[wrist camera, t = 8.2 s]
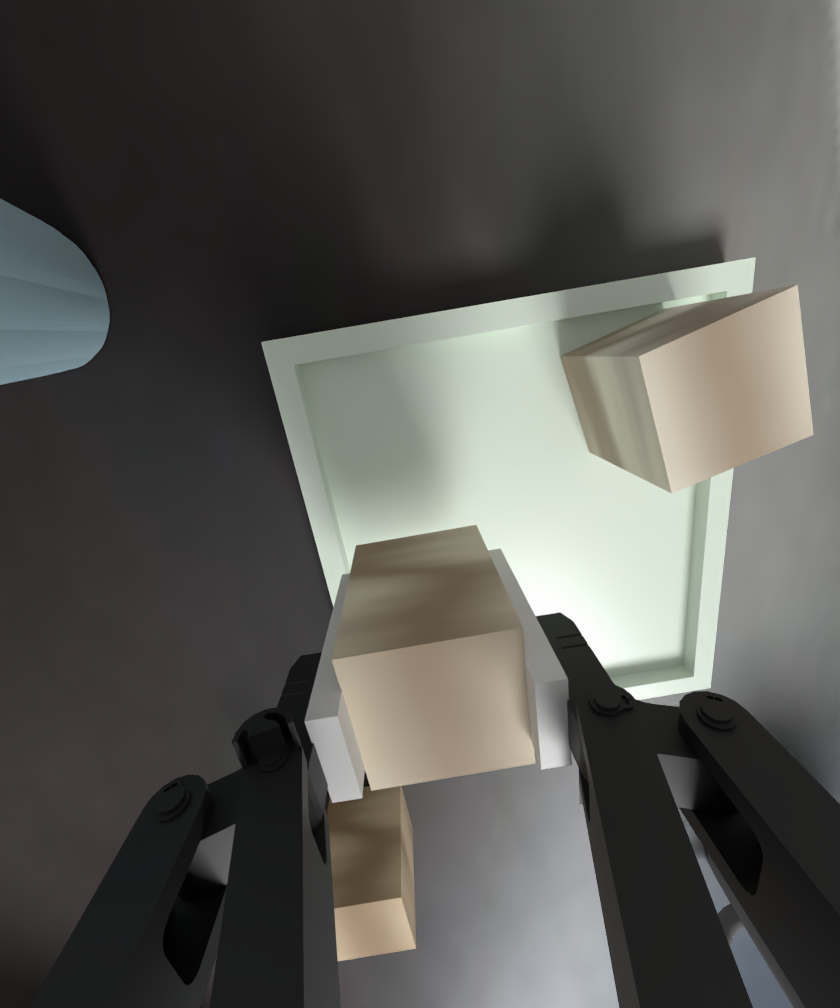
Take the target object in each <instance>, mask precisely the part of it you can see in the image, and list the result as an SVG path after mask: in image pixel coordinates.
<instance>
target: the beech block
mask: <svg viewBox="0 0 840 1008" xmlns="http://www.w3.org/2000/svg"><path fill="white" fill-rule="evenodd" d="M524 659H526V657H525V646H524V636H523V627H522V625H521V623H520V620H519V618H518V616H517V614H516V611H515V609H514V607H513V605H512V603H511V600H510V598H509V596H508V594H507V591H506V589H505V587H504V585H503V583H502V580H501V578H500V576H499V574H498V572H497V569H496V567H495V565H494V563H493V560H492V558H491V556H490V554H489V552H488V549H487V547H486V545H485V543H484V541H483V538H482V536H481V534H480V532H479V529H478V527H477V525H472V526H466V527H460V528H454V529H448V530H443V531H437V532H431V533H425V534H420V535H414V536H408V537H402V538H396V539H391V540H385V541H379V542H373V543H368V544H362V545H356V547H355V552H354V557H353V562H352V566H351V571H350V576H349V580H348V585H347V590H346V595H345V599H344V604H343V609H342V613H341V618H340V623H339V628H338V632H337V637H336V642H335V646H334V651H333V656H332V663H333V666H334V670H335V673H336V676H337V679H338V683H339V686H340V689H341V690H342V692H343V695H344V698H345V702H346V705H347V709H348V712H349V715H350V719H351V722H352V726H353V729H354V732H355V736H356V739H357V743H358V746H359V749H360V753H361V756H362V760H363V763H364V766H365V772H366V775H367V778H368V781H369V785H370V788H371V791H373V790H379V789H385V788H391V787H397V786H403V785H409V784H415V783H421V782H427V781H433V780H439V779H445V778H451V777H457V776H463V775H469V774H475V773H481V772H487V771H493V770H499V769H505V768H511V767H517V766H523V765H529V764H535V754H534V747H533V744H532V741H531V730H530V719H529V707H528V696H527V684H526V672H525V661H524Z"/></svg>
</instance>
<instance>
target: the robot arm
mask: <svg viewBox="0 0 840 1008" xmlns="http://www.w3.org/2000/svg"><path fill="white" fill-rule="evenodd" d="M488 552H489V554H490V556H491V558H492V560H493V563H494V565H495V567H496V569H497V572H498V574H499V576H500V578H501V580H502V583H503V585H504V587H505V589H506V591H507V594H508V596H509V598H510V600H511V603H512V605H513V607H514V609H515V611H516V614H517V616H518V618H519V620H520V623H521V625H522V627H523V636H524V646H525V657H526V659H524V661H525V672H526V684H527V696H528V707H529V719H530V730H531V741H532V744H533V747H534V750H535V753H536V756H537V759H538V761H539V764H540V767H541V770H542V769H548V768H555V767H561V766H567V765H572V760H571V751H572V753H573V756H574V758H575V760H576V762H577V765H578V767H579V791H580V804H583V806H584V812H585V817H586V823H587V829H588V834H589V840H590V845H591V851H592V857H593V862H594V868H595V873H596V879H597V885H598V890H599V896H600V901H601V907H602V913H603V918H604V924H605V929H606V935H607V940H608V946H609V952H610V957H611V963H612V968H613V974H614V980H615V985H616V991H617V996H618V1002H619V1008H753V1007H752V1004H751V1002H750V999H749V996H748V994H747V991H746V988H745V986H744V983H743V980H742V978H741V975H740V972H739V970H738V967H737V964H736V962H735V959H734V957H733V954H732V951H731V949H730V946H729V943H728V941H727V938H726V935H725V933H724V930H723V927H722V925H721V922H720V919H719V917H718V914H717V911H716V909H715V906H714V904H713V901H712V898H711V896H710V893H709V890H708V888H707V885H706V882H705V880H704V877H703V874H702V872H701V869H700V866H699V864H698V861H697V858H696V856H695V853H694V850H693V848H692V845H691V843H690V840H689V837H688V835H687V832H686V829H685V827H684V824H683V821H682V819H681V816H680V813H679V811H678V808H677V807H679V808H680V809H681V811H682V813H683V814H684V816H685V817H686V819H687V821H688V822H689V824H690V825H691V827H692V828H693V830H694V832H695V833H696V835H697V836H698V838H699V840H700V841H701V843H702V844H703V846H704V848H705V849H706V851H707V852H708V854H709V855H710V857H711V859H712V860H713V862H714V863H715V865H716V867H717V868H718V870H719V871H720V873H721V875H722V876H723V878H724V879H725V881H726V882H727V884H728V886H729V887H730V889H731V890H732V892H733V894H734V895H735V897H736V898H737V900H738V901H739V903H740V905H741V906H742V908H743V909H744V911H745V913H746V914H747V916H748V917H749V919H750V921H751V922H752V924H753V925H754V927H755V928H756V930H757V932H758V933H759V935H760V936H761V938H762V940H763V941H764V943H765V944H766V946H767V948H768V949H769V951H770V952H771V954H772V955H773V957H774V959H775V960H776V962H777V963H778V965H779V967H780V968H781V970H782V971H783V973H784V975H785V976H786V978H787V979H788V981H789V982H790V984H791V986H792V987H793V989H794V990H795V992H796V994H797V995H798V997H799V998H800V1000H801V1002H802V1003H803V1005H804V1006H805V1008H840V804H839V803H838V802H837V801H836V800H835V799H834V798H833V797H832V796H831V795H830V794H829V793H828V792H827V791H826V790H825V789H824V788H823V787H822V786H821V785H820V784H819V783H818V782H817V781H816V780H815V779H814V778H813V777H812V776H811V775H810V774H809V773H808V772H807V771H806V770H805V769H804V768H803V767H802V766H801V765H800V764H799V763H798V762H797V761H796V760H795V759H794V758H793V757H792V756H791V755H790V754H789V753H788V752H787V751H786V750H785V748H784V747H783V746H782V745H781V744H780V743H779V742H778V741H777V740H776V739H775V738H774V737H773V736H772V735H771V734H770V733H769V732H768V731H767V730H766V729H765V728H764V727H763V726H762V725H761V724H760V723H759V722H758V721H757V720H756V719H755V718H754V717H753V716H752V715H751V714H750V713H749V712H748V711H747V710H746V709H744V708H743V707H742V706H740V705H739V704H738V703H737V702H735V701H733V700H731V699H729V698H727V697H725V696H723V695H720V694H716V693H712V692H707V691H703V692H692V693H690V694H687V695H685V696H684V697H683V698H682V700H681V701H680V705H679V707H675V706H666V705H656V704H650V703H645V702H642V701H639V700H636V699H635V698H634V697H633V696H632V695H631V694H630V693H629V692H627V691H626V690H625V689H624V688H621V687H619V686H617V685H615V684H614V683H613V681H612V680H611V678H610V677H609V675H608V674H607V672H606V671H605V669H604V668H603V666H602V664H601V663H600V661H599V660H598V658H597V657H596V655H595V654H594V652H593V651H592V649H591V648H590V646H588V643H587V641H586V640H585V638H584V637H583V636H582V635H581V632H580V631H579V629H578V628H577V626H576V624H575V623H574V621H572V620H571V619H569V618H568V617H566V616H565V615H564V614H562V613H561V612H559V613H552V614H546V615H540V616H535V614H534V612H533V610H532V608H531V606H530V604H529V603H528V601H527V599H526V597H525V595H524V593H523V591H522V589H521V587H520V585H519V583H518V581H517V579H516V577H515V575H514V574H513V572H512V570H511V568H510V566H509V564H508V562H507V560H506V558H505V556H504V554H503V552H502V550H501V548H499V549H493V550H488ZM349 576H350V573H348V574H342V576H341V580H340V584H339V588H338V592H337V596H336V600H335V604H334V608H333V611H332V615H331V619H330V623H329V627H328V631H327V635H326V639H325V643H324V647H323V650H322V652H321V653H315V654H309V655H303V656H300V658H299V659H298V660H297V661H296V663H295V664H294V665H293V666H292V667H291V669H290V671H289V674H288V677H287V680H286V685H285V686H284V689H283V692H282V697H280V700H279V703H278V706H277V708H271V709H266V710H263V711H261V712H259V713H257V714H255V715H253V716H252V717H250V718H249V719H248V720H246V721H245V722H244V723H243V724H242V725H241V727H240V728H239V729H238V730H237V732H236V733H235V736H234V738H233V741H232V744H233V747H234V749H235V751H236V753H237V756H238V758H239V760H240V763H241V765H242V767H243V768H241V769H239V770H238V771H236V772H234V773H232V774H230V775H228V776H226V777H223V778H221V779H219V780H217V781H215V782H212V783H210V784H208V785H207V784H206V782H205V780H204V779H203V778H201V777H200V776H199V775H186V776H183V777H179V778H176V779H175V780H173V781H171V782H170V783H168V784H166V785H165V786H163V787H162V788H161V789H160V790H159V791H158V792H157V793H156V794H155V795H153V796H152V798H151V799H150V800H149V802H148V803H147V804H146V806H145V807H144V809H143V810H142V812H141V814H140V815H139V817H138V819H137V821H136V822H135V824H134V826H133V828H132V829H131V831H130V833H129V835H128V836H127V838H126V840H125V842H124V843H123V845H122V847H121V849H120V850H119V852H118V854H117V856H116V857H115V859H114V861H113V863H112V864H111V866H110V868H109V870H108V871H107V873H106V875H105V877H104V878H103V880H102V882H101V884H100V885H99V887H98V889H97V891H96V892H95V894H94V896H93V898H92V899H91V901H90V903H89V905H88V906H87V908H86V910H85V912H84V913H83V915H82V917H81V919H80V920H79V922H78V924H77V926H76V927H75V929H74V931H73V933H72V934H71V936H70V938H69V940H68V941H67V943H66V945H65V947H64V948H63V950H62V952H61V954H60V955H59V957H58V959H57V961H56V962H55V964H54V966H53V968H52V969H51V971H50V973H49V975H48V976H47V978H46V980H45V982H44V983H43V985H42V987H41V989H40V990H39V992H38V994H37V996H36V997H35V999H34V1001H33V1003H32V1004H31V1006H30V1008H200V1007H201V1003H202V1000H203V997H204V994H205V991H206V987H207V984H208V981H209V978H210V975H211V971H212V968H213V965H214V962H215V959H216V955H217V960H216V967H215V974H214V982H213V989H212V996H211V1003H210V1008H341V1005H340V990H339V975H338V959H337V944H336V929H335V913H334V898H333V883H332V867H331V852H330V837H329V822H328V819H327V815H326V812H325V809H324V807H325V801H326V794H327V789H328V792H329V795H330V798H331V801H332V803H336V802H342V801H348V800H355V799H361V798H362V797H363V785H364V773H365V766H364V763H363V760H362V756H361V753H360V749H359V746H358V743H357V739H356V736H355V732H354V729H353V726H352V722H351V719H350V715H349V712H348V709H347V705H346V702H345V698H344V695H343V692H342V690H341V689H340V686H339V683H338V679H337V676H336V673H335V670H334V666H333V663H332V656H333V651H334V646H335V642H336V637H337V632H338V628H339V623H340V618H341V613H342V609H343V604H344V599H345V595H346V590H347V585H348V580H349ZM217 952H218V953H217Z"/></svg>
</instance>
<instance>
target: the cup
mask: <svg viewBox="0 0 840 1008" xmlns="http://www.w3.org/2000/svg"><path fill="white" fill-rule="evenodd" d="M109 322H110V312H109V305H108V300H107V296H106V292H105V288H104V286H103V283H102V281H101V279H100V277H99V275H98V273H97V272H96V270H95V268H94V267H93V265H92V264H91V262H90V261H89V259H88V258H87V257H86V255H85V254H84V253H83V252H82V251H81V249H80V248H79V247H78V246H77V245H75V244H74V243H73V242H72V241H70V240H69V239H68V238H66V237H65V236H64V235H62V234H61V233H60V232H59V231H57V230H56V229H55V228H53V227H52V226H50V225H48V224H46V223H45V222H43V221H41V220H39V219H38V218H36V217H34V216H32V215H30V214H28V213H26V212H24V211H23V210H21V209H19V208H17V207H15V206H13V205H11V204H9V203H8V202H6V201H4V200H2V199H0V385H2V384H6V383H11V382H16V381H21V380H26V379H31V378H36V377H41V376H45V375H50V374H54V373H59V372H63V371H67V370H70V369H75V368H78V367H81V366H83V365H85V364H86V363H88V362H89V361H90V360H91V359H92V358H93V357H94V356H95V355H96V354H97V353H98V352H99V350H100V349H101V348H102V346H103V344H104V342H105V340H106V336H107V332H108V328H109Z"/></svg>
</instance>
